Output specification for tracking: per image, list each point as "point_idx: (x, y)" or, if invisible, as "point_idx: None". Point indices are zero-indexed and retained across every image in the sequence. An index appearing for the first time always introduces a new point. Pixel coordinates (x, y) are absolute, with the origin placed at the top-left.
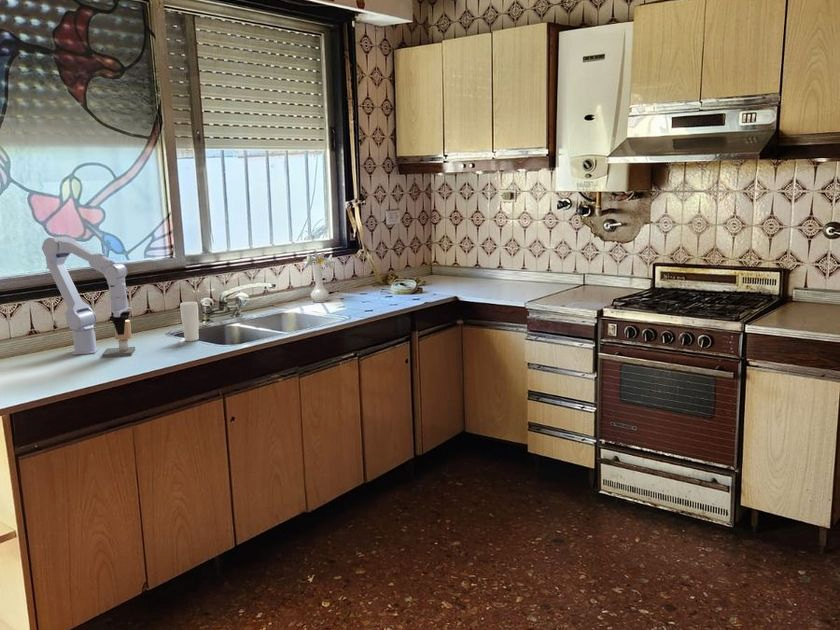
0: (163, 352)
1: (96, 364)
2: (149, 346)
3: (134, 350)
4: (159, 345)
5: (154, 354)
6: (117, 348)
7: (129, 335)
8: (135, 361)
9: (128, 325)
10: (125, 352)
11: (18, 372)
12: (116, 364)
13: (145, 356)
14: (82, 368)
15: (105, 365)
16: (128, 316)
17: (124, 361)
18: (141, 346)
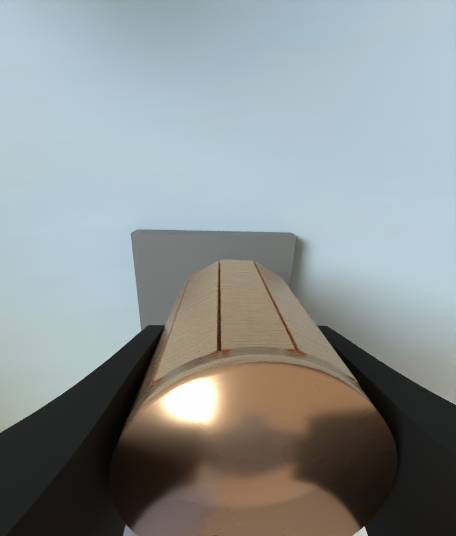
0: (289, 14)
1: (394, 358)
2: (59, 147)
3: (168, 230)
4: (35, 69)
5: (323, 85)
6: (159, 321)
7: (271, 276)
8: (448, 193)
9: (308, 334)
10: (283, 267)
11: (364, 528)
12: (451, 279)
13: (351, 145)
14: (432, 392)
15: (438, 322)
16: (9, 475)
17: (410, 251)
18: (51, 202)
